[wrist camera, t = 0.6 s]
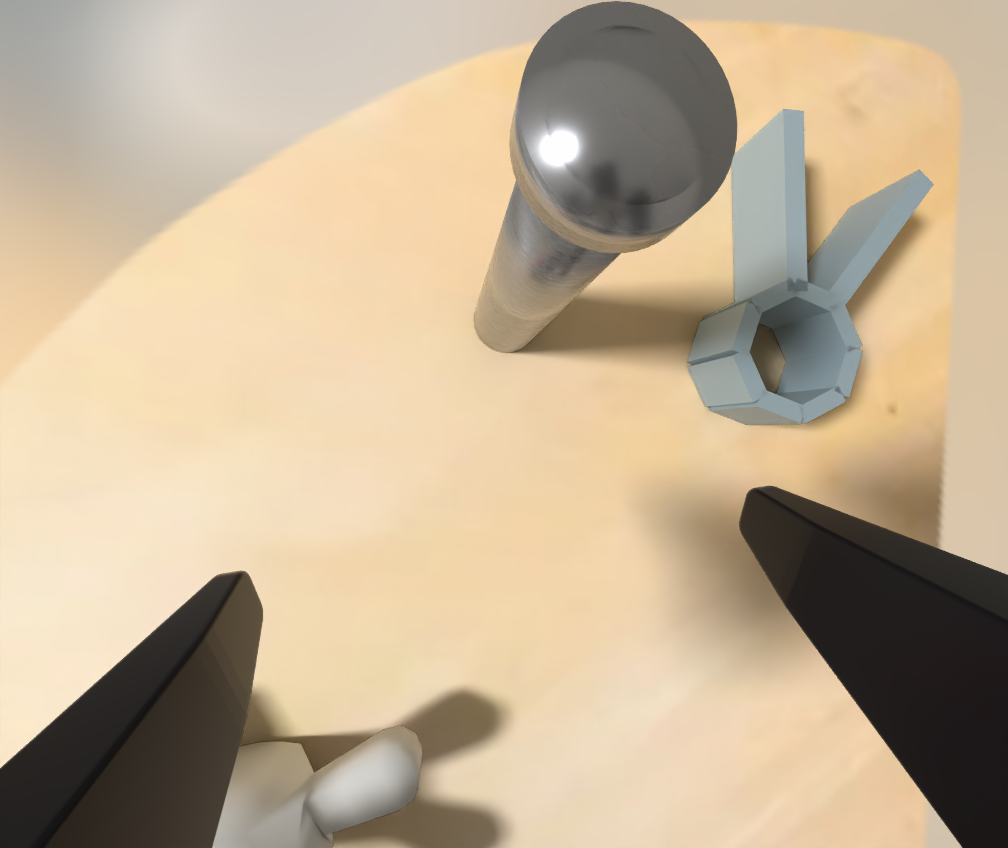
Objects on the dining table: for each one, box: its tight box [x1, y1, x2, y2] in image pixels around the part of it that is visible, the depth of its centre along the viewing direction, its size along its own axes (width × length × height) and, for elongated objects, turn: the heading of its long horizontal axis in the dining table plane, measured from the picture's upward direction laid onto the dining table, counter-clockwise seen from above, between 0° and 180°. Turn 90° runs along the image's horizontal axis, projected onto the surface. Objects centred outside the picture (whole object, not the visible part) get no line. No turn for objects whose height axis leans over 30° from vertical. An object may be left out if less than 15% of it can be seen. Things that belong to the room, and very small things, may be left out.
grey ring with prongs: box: [687, 109, 934, 425], centre depth 22 cm, size 13×8×4 cm, turn 161°
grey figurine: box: [212, 726, 423, 848], centre depth 17 cm, size 10×5×15 cm
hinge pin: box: [474, 1, 737, 353], centre depth 14 cm, size 4×4×14 cm
